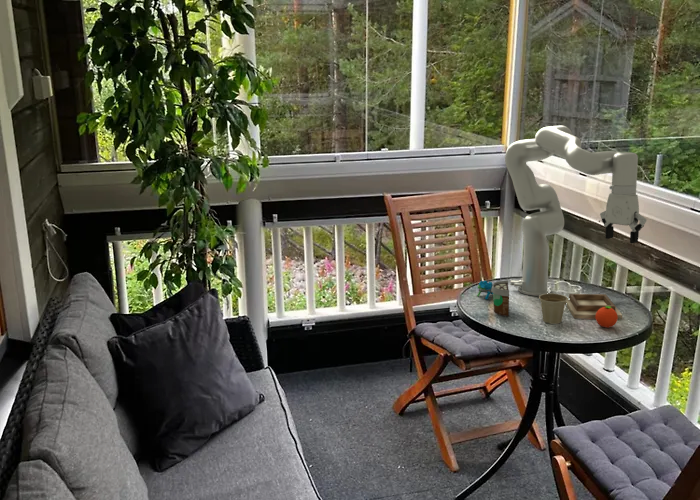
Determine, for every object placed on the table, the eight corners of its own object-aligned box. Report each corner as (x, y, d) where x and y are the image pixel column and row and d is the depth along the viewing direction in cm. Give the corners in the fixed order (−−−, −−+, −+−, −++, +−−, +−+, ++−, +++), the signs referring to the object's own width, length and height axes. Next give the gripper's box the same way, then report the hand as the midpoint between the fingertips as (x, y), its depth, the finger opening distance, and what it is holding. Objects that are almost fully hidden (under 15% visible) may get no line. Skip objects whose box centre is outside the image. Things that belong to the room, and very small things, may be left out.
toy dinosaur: (509, 294, 240) (495, 280, 234) (503, 307, 238) (489, 293, 233) (487, 291, 248) (473, 277, 243) (480, 304, 247) (467, 290, 241)
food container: (490, 305, 233) (491, 279, 230) (507, 306, 232) (508, 280, 229) (490, 317, 221) (491, 290, 219) (508, 317, 220) (509, 290, 217)
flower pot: (532, 319, 218) (533, 295, 216) (553, 314, 221) (554, 291, 219) (550, 327, 210) (551, 303, 207) (572, 323, 213) (573, 299, 211)
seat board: (574, 318, 217) (574, 308, 216) (562, 299, 236) (563, 290, 236) (622, 319, 215) (622, 309, 214) (606, 300, 234) (607, 291, 233)
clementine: (599, 320, 214) (601, 301, 213) (620, 324, 210) (622, 305, 208) (591, 327, 209) (593, 307, 207) (613, 332, 204) (614, 311, 202)
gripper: (594, 189, 212) (592, 238, 216) (639, 193, 198) (636, 246, 201) (609, 186, 216) (607, 235, 220) (654, 191, 201) (651, 243, 205)
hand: (621, 240), depth 210 cm, fingers open, 9 cm apart
